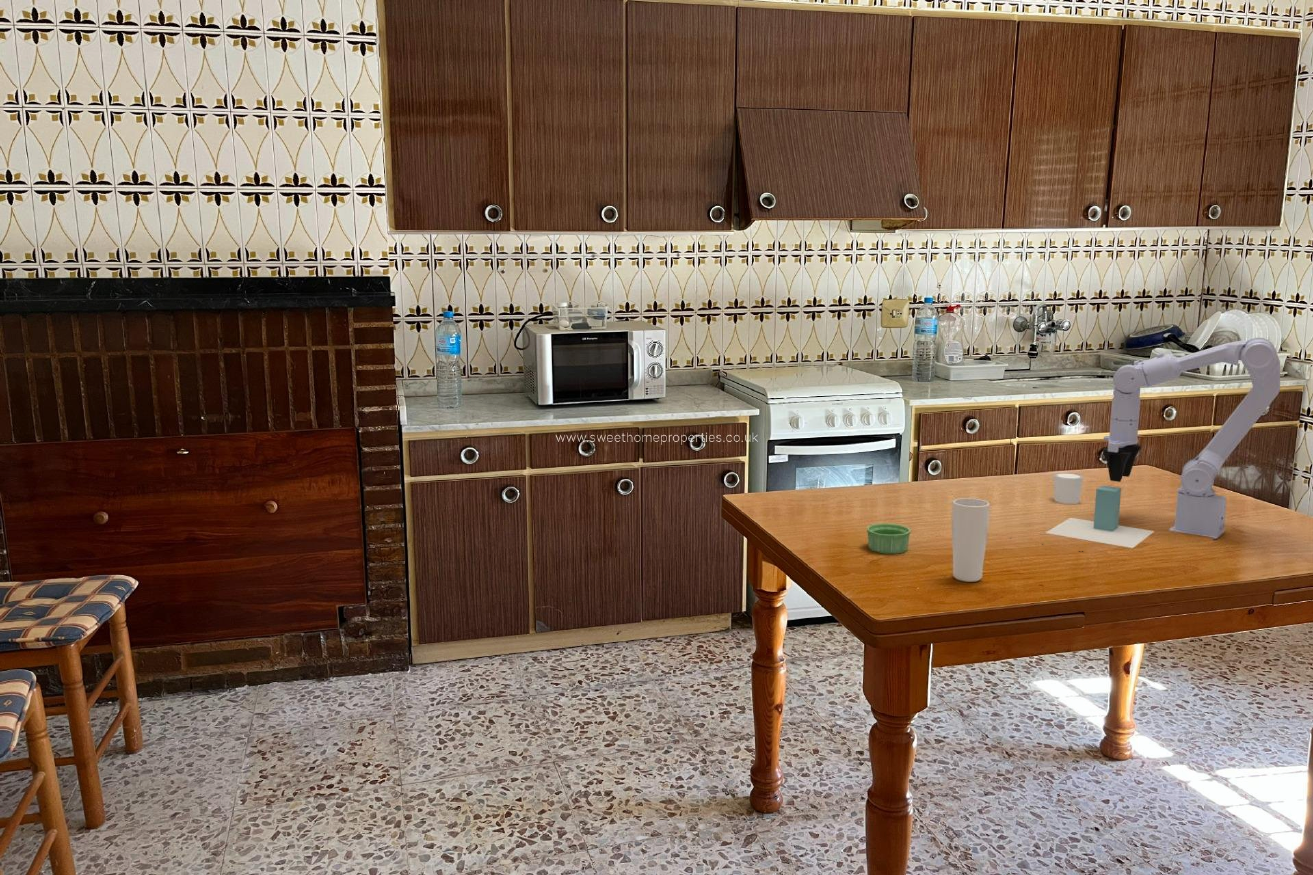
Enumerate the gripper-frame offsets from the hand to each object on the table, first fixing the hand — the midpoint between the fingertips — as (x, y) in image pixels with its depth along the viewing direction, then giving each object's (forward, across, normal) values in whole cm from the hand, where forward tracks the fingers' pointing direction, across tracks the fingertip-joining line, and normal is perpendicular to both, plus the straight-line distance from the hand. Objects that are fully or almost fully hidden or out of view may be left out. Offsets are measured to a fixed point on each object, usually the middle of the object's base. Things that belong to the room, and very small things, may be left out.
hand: (1119, 478), depth 228 cm
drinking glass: (+11, +58, -10) cm, 60 cm away
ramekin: (+11, +50, -31) cm, 60 cm away
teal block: (+10, +8, 0) cm, 13 cm away
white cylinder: (+11, -11, -15) cm, 21 cm away
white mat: (+10, +12, 0) cm, 16 cm away
